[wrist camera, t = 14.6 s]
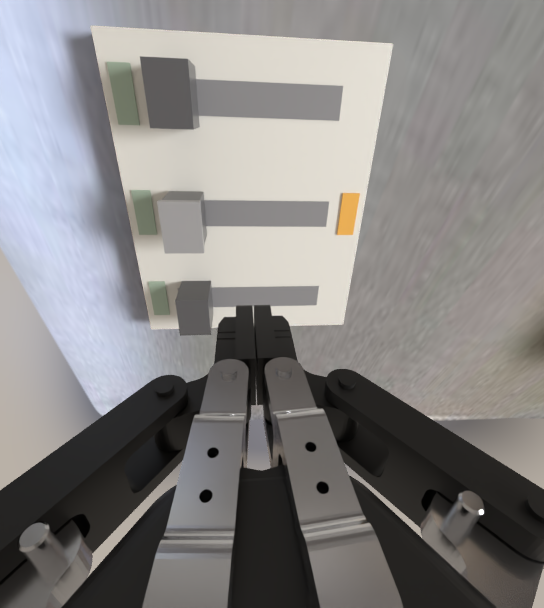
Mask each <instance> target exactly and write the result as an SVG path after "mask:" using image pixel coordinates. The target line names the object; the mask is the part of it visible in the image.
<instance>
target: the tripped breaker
mask: <svg viewBox="0 0 544 608" xmlns="http://www.w3.org/2000/svg"><path fill="white" fill-rule="evenodd" d="M157 205H158V212H159V219H160V225H161V232H162V238H163V245H164V252H165V254H172V253H204V251H205V250H204V245H205V241H206V237H207V229H206V216H205V203H204V192H196V191H169V192H168V193H167V194H166V195H165V196H164V197H163V199H162V200H158V201H157Z"/></svg>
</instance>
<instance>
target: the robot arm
mask: <svg viewBox="0 0 544 608" xmlns="http://www.w3.org/2000/svg"><path fill="white" fill-rule="evenodd" d="M256 389H257V405H263V410H264V429H265V435H266V441H267V447H268V453H269V459H270V466H271V468H270V469H267V470H263V471H260V470H254V469H248V468H247V456H248V441H249V420H250V418H251V405H256ZM182 460H183V462H182V467H181V471H180V474H179V479H178V483H177V485H176V486H174V487H172V488H171V489H170V490H168V491H167V492H165V493H164V494H163V495H162V496H161V497H160V498H159V499H157V500H156V501H155V502H154V503H153V504H152V506H151V507H150V508H149V509H148V510H147V511H146V512H145V513H144V515H143V516H142V517H141V518H140V519H139V520H138V521H137V522H136V524H135V525H134V526H133V527H132V528H131V529H130V530H129V531H128V533H127V534H126V535H125V536H124V537H123V538H122V540H121V541H120V542H119V543H118V544H117V545H116V546H115V547H114V548H113V550H112V551H111V552H110V553H109V554H108V555H107V556H106V557H105V559H104V560H103V561H102V562H101V563H100V564H99V565H98V567H97V568H96V569H95V570H94V571H93V572H92V573H91V574H90V576H89V577H88V574H89V572H90V569H91V566H92V557H93V556H92V553H93V552H94V551H95V550H96V549H97V548H98V547H99V546H100V545H101V544H102V543H103V542H104V541H105V540H106V539H107V538H108V537H109V536H110V535H111V533H113V531H114V530H116V528H117V527H118V526H119V525H120V524H121V523H122V522H123V521H124V520H125V519H126V518H127V517H128V516H129V515H130V514H131V513H132V512H133V511H134V510H135V509H136V508H137V507H138V506H139V505H140V504H141V503H142V502H143V501H144V500H145V499H146V497H148V495H149V494H150V493H151V492H152V491H153V490H154V489H155V488H156V487H157V486H158V485H159V484H160V483H161V482H162V481H163V480H164V479H165V478H166V477H167V476H168V475H169V474H170V473H171V472H172V471H173V469H175V468H176V466H178V464H179V463H180V462H181V461H182ZM344 463H345V464H347V465H348V466H349V467H350V468H351V469H352V470H353V471H355V472H356V473H357V474H358V475H359V476H360V477H362V478H363V479H364V480H365V481H366V482H367V483H369V484H370V485H371V486H372V487H373V488H374V489H376V490H377V491H378V492H379V493H380V494H381V495H383V496H384V497H385V498H386V499H387V500H389V501H390V502H391V503H392V504H393V505H394V506H395V507H397V508H398V509H399V510H400V511H401V512H402V513H404V514H405V515H406V516H407V517H408V518H409V519H411V520H412V521H413V522H414V523H415V524H416V525H418V526H419V527H420V528H421V535H422V538H423V539H422V538H421V537H420V536H419V535H418V534H416V532H414V531H413V530H412V529H411V528H410V527H409V526H408V525H407V524H406V523H405V522H403V521H402V520H401V519H400V518H399V517H398V516H397V515H396V514H395V513H394V512H393V511H392V510H390V508H388V507H387V506H386V505H385V504H384V503H383V502H382V501H381V500H380V499H379V498H378V497H377V496H375V495H374V494H373V493H372V492H371V491H370V490H369V489H368V488H367V487H365V486H364V485H363V484H362V483H360V482H359V481H357V480H356V479H354V478H352V477H351V476H349V475H348V472H347V470H346V467H345V464H344ZM543 569H544V489H542V488H540V487H539V486H537V485H536V484H534V483H532V482H531V481H529V480H528V479H526V478H525V477H523V476H521V475H520V474H518V473H516V472H515V471H513V470H512V469H510V468H508V467H507V466H505V465H504V464H502V463H501V462H499V461H497V460H496V459H494V458H492V457H491V456H489V455H488V454H486V453H484V452H483V451H481V450H480V449H478V448H476V447H475V446H473V445H472V444H470V443H469V442H467V441H465V440H464V439H462V438H461V437H459V436H457V435H456V434H454V433H453V432H451V431H449V430H448V429H446V428H444V427H443V426H441V425H440V424H438V423H437V422H435V421H433V420H432V419H430V418H429V417H427V416H425V415H424V414H422V413H421V412H419V411H417V410H416V409H414V408H413V407H411V406H409V405H408V404H406V403H405V402H403V401H401V400H400V399H398V398H397V397H395V396H393V395H392V394H390V393H389V392H387V391H385V390H384V389H382V388H381V387H379V386H377V385H376V384H374V383H373V382H371V381H369V380H368V379H366V378H365V377H363V376H361V375H360V374H358V373H356V372H354V371H352V370H348V369H337V370H334V371H332V372H330V373H329V374H328V376H327V377H323V376H318V375H314V374H311V373H309V372H307V371H305V370H304V369H303V367H302V366H301V364H300V363H299V362H298V361H297V357H296V352H295V348H294V344H293V339H292V335H291V331H290V326H289V322H288V321H287V320H286V319H285V318H284V317H283V316H272V313H271V306H270V305H254V323H253V306H252V305H236V317H224V318H223V319H222V320H221V321H220V323H219V324H218V334H217V342H216V352H215V362H214V365H213V366H212V367H211V369H210V371H209V373H208V374H207V375H206V376H204V377H203V378H201V379H198V380H195V381H191V382H188V383H186V382H185V381H184V379H182V378H181V377H179V376H175V375H165V376H161V377H158V378H156V379H154V380H152V381H151V382H149V383H148V384H147V385H145V386H144V387H142V388H141V389H140V390H138V391H137V392H135V393H134V394H133V395H131V396H130V397H129V398H127V399H126V400H124V401H123V402H122V403H120V404H119V405H118V406H116V407H115V408H113V409H112V410H111V411H109V412H108V413H107V414H105V415H104V416H102V417H101V418H100V419H98V420H97V421H96V422H94V423H93V424H91V425H90V426H89V427H87V428H86V429H84V430H83V431H82V432H81V433H79V434H78V435H76V436H75V437H73V438H72V439H71V440H69V441H68V442H66V443H65V444H64V445H62V446H61V447H60V448H58V449H57V450H55V451H54V452H53V453H51V454H50V455H49V456H47V457H46V458H44V459H43V460H42V461H40V462H39V463H38V464H36V465H35V466H33V467H32V468H31V469H29V470H28V471H26V472H25V473H24V474H22V475H21V476H20V477H18V478H17V479H15V480H14V481H13V482H11V483H10V484H9V485H7V486H6V487H4V488H3V489H2V490H0V608H532V605H533V602H534V598H535V595H536V591H537V587H538V584H539V580H540V577H541V573H542V570H543ZM87 577H88V578H87Z"/></svg>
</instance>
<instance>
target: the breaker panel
mask: <svg viewBox="0 0 544 608" xmlns="http://www.w3.org/2000/svg"><path fill="white" fill-rule="evenodd" d="M91 31H92V36H93V41H94V46H95V51H96V56H97V61H98V66H99V71H100V76H101V81H102V86H103V91H104V96H105V101H106V106H107V111H108V116H109V121H110V126H111V131H112V136H113V141H114V146H115V151H116V156H117V161H118V166H119V171H120V176H121V181H122V186H123V191H124V196H125V201H126V206H127V211H128V216H129V221H130V226H131V231H132V236H133V241H134V246H135V251H136V256H137V261H138V266H139V271H140V276H141V281H142V285H143V290H144V295H145V300H146V305H147V310H148V315H149V320H150V325H151V329H179V331H180V335H211V329H212V328H218V324H219V323H220V321H221V320H222V319H223V318H224V317H236V305H252V306H253V323H254V305H270V306H271V313H272V316H283V317H284V318H285V319H286V320H287V321H288V322H289V326H303V325H343V322H344V316H345V311H346V305H347V299H348V294H349V288H350V283H351V277H352V271H353V266H354V260H355V255H356V249H357V243H358V238H359V232H360V227H361V221H362V215H363V210H364V204H365V199H366V193H367V187H368V182H369V176H370V171H371V165H372V159H373V154H374V148H375V143H376V137H377V131H378V126H379V120H380V115H381V109H382V103H383V98H384V92H385V87H386V81H387V75H388V70H389V64H390V59H391V53H392V47H393V44H392V43H375V42H358V41H341V40H325V39H308V38H291V37H274V36H257V35H241V34H224V33H207V32H190V31H173V30H157V29H140V28H123V27H106V26H91ZM169 191H196V192H204V203H205V216H206V229H207V237H206V241H205V245H204V250H205V251H204V253H172V254H165V252H164V245H163V238H162V232H161V225H160V219H159V212H158V205H157V201H158V200H162V199H163V197H164V196H165V195H166V194H167V193H168V192H169Z"/></svg>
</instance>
